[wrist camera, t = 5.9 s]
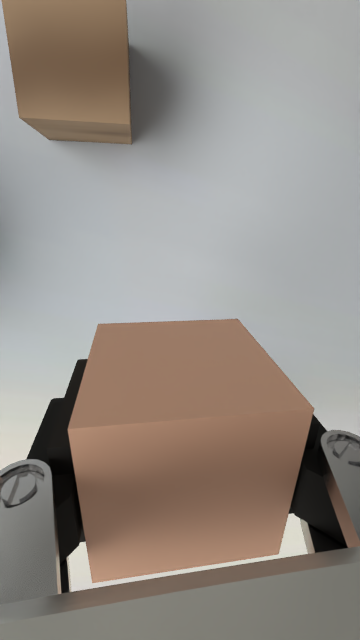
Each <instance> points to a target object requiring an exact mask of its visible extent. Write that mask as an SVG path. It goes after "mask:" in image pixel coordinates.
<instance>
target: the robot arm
mask: <svg viewBox="0 0 360 640" xmlns="http://www.w3.org/2000/svg"><path fill="white" fill-rule="evenodd" d="M87 361H88V359H81V360H78V361H77V363H76V366H75V369H74V372H73V374H72V377H71V380H70V383H69V386H68V389H67V391H66V394H65V397H64V398H54V399H52V400H51V402H50V404H49V406H48V409H47V411H46V413H45V416H44V418H43V421H42V423H41V425H40V428H39V430H38V433H37V435H36V437H35V440H34V442H33V445H32V447H31V450H30V452H29V454H28V457H27V459H26V460H22V461H18V462H15V463H13V464H10V465H8V466H7V467H5V468H4V469H2V470H0V640H360V437H359V436H357V435H355V434H352V433H350V432H346V431H341V430H331V431H328V432H327V430H326V429H325V428H324V427H323V426H322V424H321V423H320V422H319V421H318V420H317V418H316V417H315V416H314V415H313V416H312V420H311V424H310V428H309V432H308V436H307V440H306V444H305V448H304V452H303V456H302V461H301V465H300V469H299V473H298V477H297V481H296V485H295V489H294V493H293V497H292V501H291V505H290V509H289V513H288V514H291V513H294V514H295V516H297V517H299V518H300V521H301V527H302V531H303V535H304V539H305V544H306V548H307V552H308V554H305V555H299V556H292V557H286V558H280V559H273V560H267V561H260V562H254V563H248V564H241V565H235V566H229V567H222V568H216V569H210V570H204V571H197V572H191V573H185V574H178V575H172V576H166V577H160V578H154V579H148V580H142V581H135V582H129V583H123V584H117V585H111V586H105V587H99V588H93V589H87V590H81V591H75V592H71V581H70V569H69V558H68V556H69V555H70V554H71V553H72V552H73V551H74V550H75V549H76V548H77V547H78V546H79V543H80V542H85V541H86V540H85V534H84V528H83V521H82V515H81V509H80V503H79V497H78V490H77V484H76V478H75V472H74V466H73V459H72V453H71V447H70V441H69V434H68V426H69V423H70V419H71V416H72V412H73V409H74V405H75V402H76V399H77V395H78V392H79V388H80V385H81V381H82V378H83V374H84V371H85V368H86V364H87Z"/></svg>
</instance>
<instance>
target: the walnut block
mask: <svg viewBox="0 0 360 640" xmlns="http://www.w3.org/2000/svg"><path fill="white" fill-rule="evenodd" d="M2 6H3V12H4V19H5V26H6V33H7V39H8V46H9V53H10V59H11V66H12V73H13V79H14V86H15V93H16V99H17V106H18V113H19V118H20V119H22V120H23V121H24V122H26V123H27V124H29V125H30V126H31V127H33V128H34V129H35V130H37V131H38V132H39V133H41V134H42V135H43V136H45V137H46V138H47V139H49V140H62V141H81V142H100V143H120V144H132V135H131V104H130V73H129V43H128V25H127V7H126V0H2Z"/></svg>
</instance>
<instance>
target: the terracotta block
mask: <svg viewBox="0 0 360 640" xmlns="http://www.w3.org/2000/svg"><path fill="white" fill-rule="evenodd" d="M313 412H314V408H313V407H312V405H311V404H310V403H309V402H308V401H307V400H306V398H305V397H304V396H303V395H302V394H301V393H300V391H299V390H298V389H297V388H296V387H295V386H294V384H293V383H292V382H291V381H290V380H289V378H288V377H287V376H286V375H285V374H284V373H283V371H282V370H281V369H280V368H279V367H278V366H277V364H276V363H275V362H274V361H273V360H272V359H271V357H270V356H269V355H268V354H267V353H266V351H265V350H264V349H263V348H262V347H261V346H260V344H259V343H258V342H257V341H256V340H255V339H254V337H253V336H252V335H251V334H250V333H249V332H248V330H247V329H246V328H245V327H244V326H243V324H242V323H241V322H240V321H239V320H238V319H225V320H197V321H168V322H140V323H111V324H98V326H97V330H96V333H95V336H94V340H93V343H92V347H91V350H90V354H89V357H88V361H87V364H86V368H85V371H84V374H83V378H82V381H81V385H80V388H79V392H78V395H77V399H76V402H75V405H74V409H73V412H72V416H71V419H70V423H69V426H68V434H69V441H70V447H71V453H72V459H73V466H74V472H75V478H76V484H77V490H78V497H79V503H80V509H81V515H82V521H83V528H84V534H85V540H86V546H87V552H88V559H89V565H90V571H91V577H92V583H96V582H103V581H109V580H116V579H122V578H129V577H135V576H141V575H148V574H154V573H161V572H167V571H174V570H180V569H187V568H193V567H199V566H206V565H212V564H219V563H225V562H232V561H238V560H245V559H251V558H257V557H264V556H270V555H277V554H279V550H280V546H281V542H282V538H283V534H284V530H285V526H286V522H287V518H288V513H289V509H290V505H291V501H292V497H293V493H294V489H295V485H296V481H297V477H298V473H299V469H300V465H301V461H302V456H303V452H304V448H305V444H306V440H307V436H308V432H309V428H310V424H311V420H312V416H313Z"/></svg>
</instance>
